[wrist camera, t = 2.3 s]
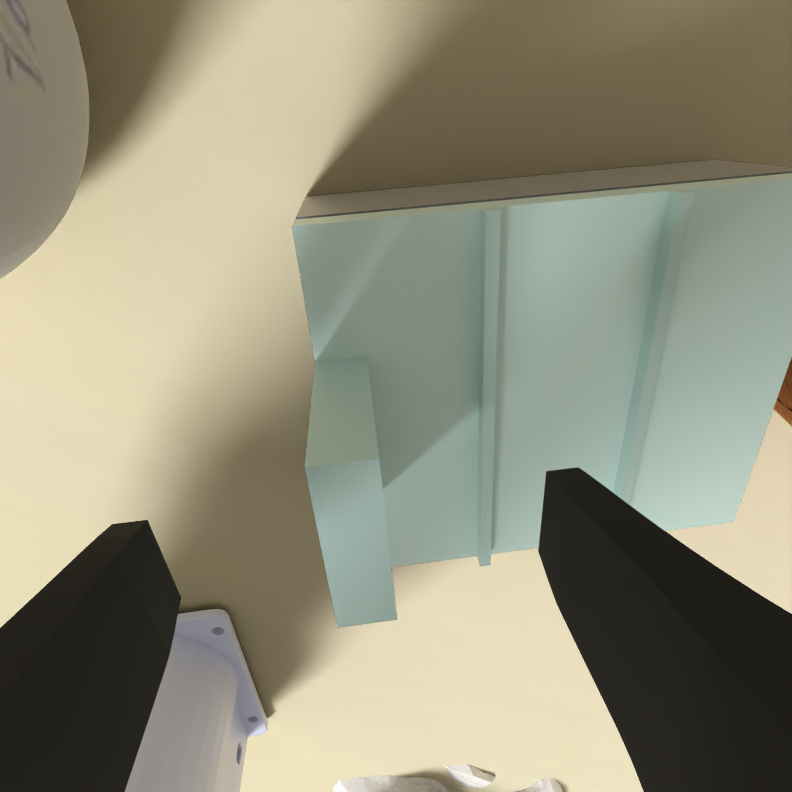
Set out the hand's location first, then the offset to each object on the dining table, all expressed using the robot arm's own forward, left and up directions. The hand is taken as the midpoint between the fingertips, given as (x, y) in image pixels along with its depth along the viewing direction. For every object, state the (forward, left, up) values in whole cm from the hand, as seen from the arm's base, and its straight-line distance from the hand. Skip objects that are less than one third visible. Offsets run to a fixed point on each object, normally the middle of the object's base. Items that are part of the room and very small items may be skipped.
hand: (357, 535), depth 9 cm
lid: (0, -5, -5) cm, 7 cm away
